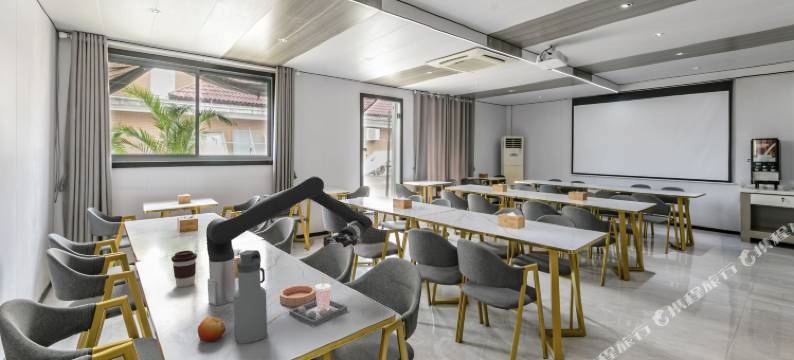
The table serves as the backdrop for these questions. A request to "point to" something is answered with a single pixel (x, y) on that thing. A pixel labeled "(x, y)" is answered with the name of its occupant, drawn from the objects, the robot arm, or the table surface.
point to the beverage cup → (323, 295)
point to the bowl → (297, 295)
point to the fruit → (211, 329)
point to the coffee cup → (184, 268)
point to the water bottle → (250, 299)
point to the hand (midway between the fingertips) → (334, 244)
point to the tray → (321, 319)
